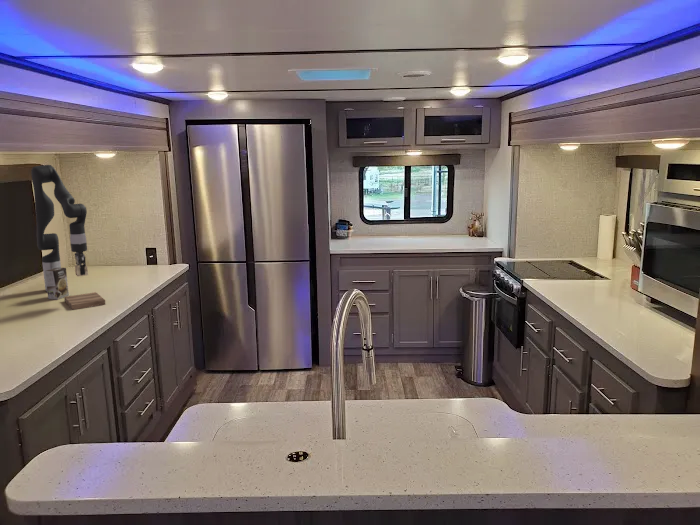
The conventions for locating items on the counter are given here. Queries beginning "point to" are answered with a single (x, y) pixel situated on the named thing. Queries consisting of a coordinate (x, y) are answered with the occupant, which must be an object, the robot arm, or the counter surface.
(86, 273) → the maple cube
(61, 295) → the coffee box
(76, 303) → the walnut base
